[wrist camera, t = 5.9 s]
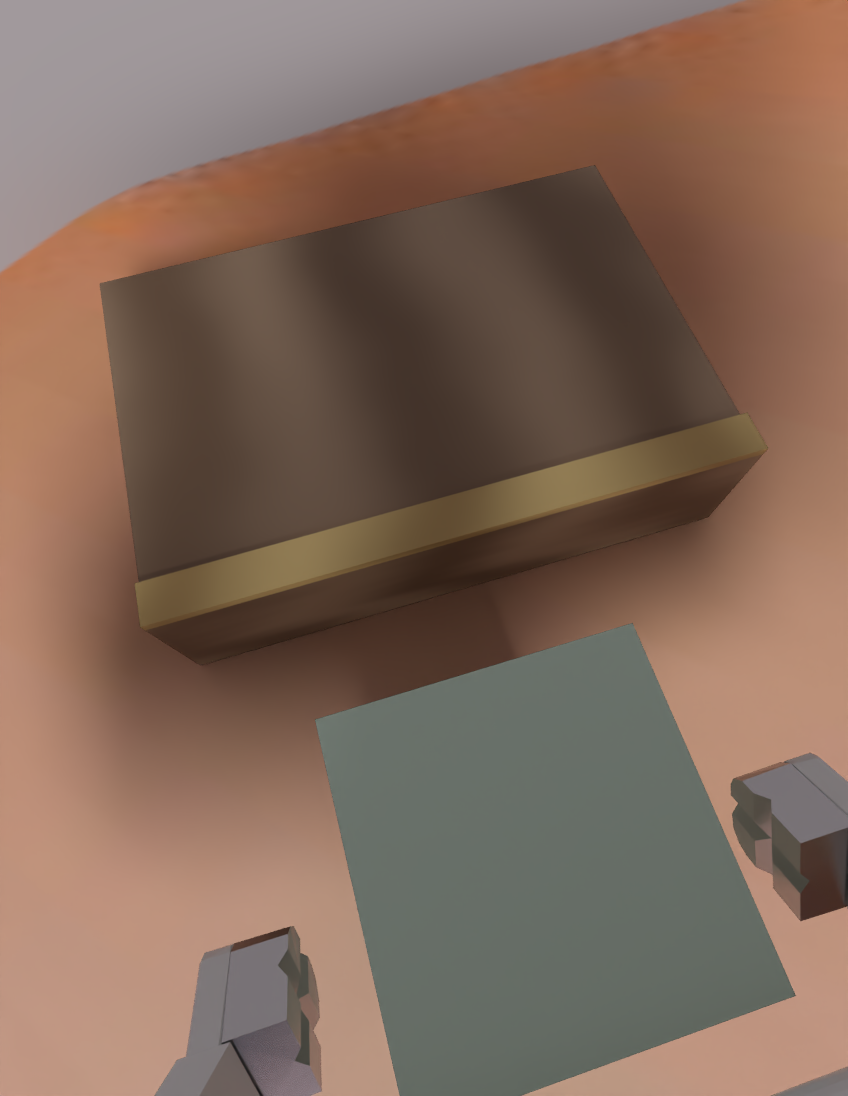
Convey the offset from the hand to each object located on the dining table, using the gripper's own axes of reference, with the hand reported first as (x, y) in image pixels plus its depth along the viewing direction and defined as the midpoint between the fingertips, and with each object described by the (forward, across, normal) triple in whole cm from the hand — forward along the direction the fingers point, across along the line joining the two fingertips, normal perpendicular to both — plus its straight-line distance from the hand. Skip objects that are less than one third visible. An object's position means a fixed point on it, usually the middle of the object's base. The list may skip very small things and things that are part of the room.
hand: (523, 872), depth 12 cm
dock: (+14, -2, -5) cm, 15 cm away
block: (+5, 0, +4) cm, 7 cm away
